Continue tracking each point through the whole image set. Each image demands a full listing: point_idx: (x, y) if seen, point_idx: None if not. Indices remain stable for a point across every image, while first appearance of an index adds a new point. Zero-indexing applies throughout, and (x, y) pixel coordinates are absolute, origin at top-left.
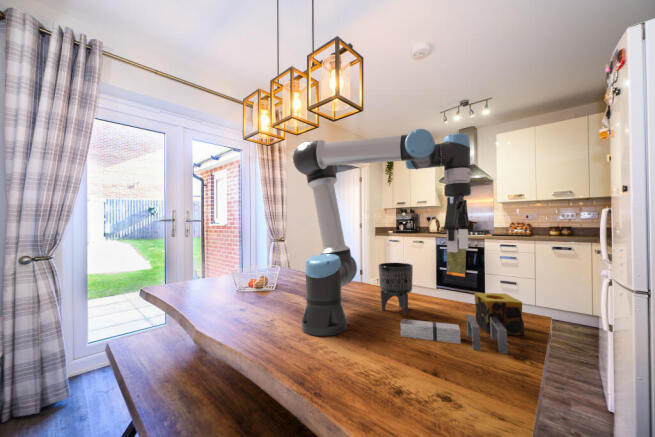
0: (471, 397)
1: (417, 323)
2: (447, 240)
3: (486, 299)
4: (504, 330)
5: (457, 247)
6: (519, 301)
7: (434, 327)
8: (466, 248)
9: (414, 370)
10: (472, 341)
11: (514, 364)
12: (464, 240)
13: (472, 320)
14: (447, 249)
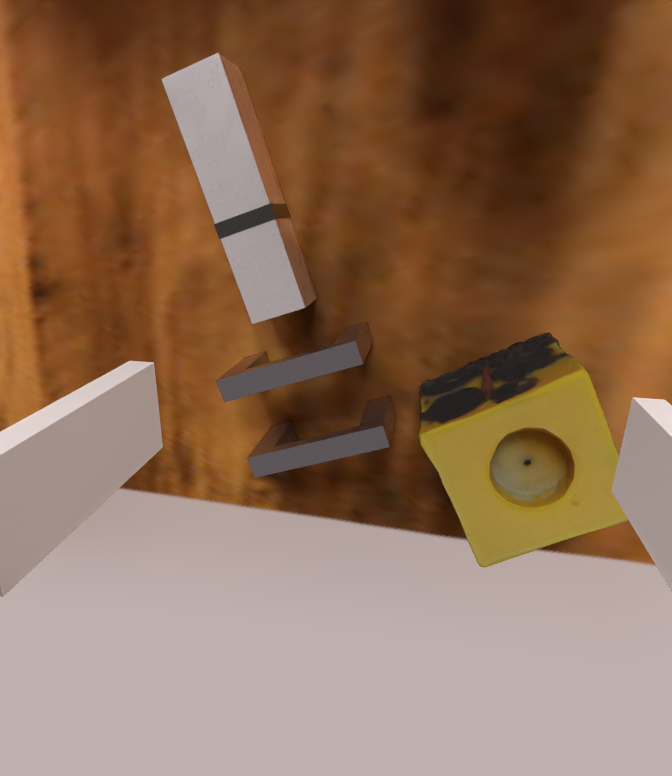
0: (15, 381)
1: (212, 149)
2: (54, 408)
3: (449, 436)
4: (253, 471)
5: (138, 468)
6: (484, 559)
7: (217, 230)
8: (617, 481)
9: (15, 238)
10: (252, 359)
11: (226, 456)
12: (661, 520)
13: (287, 372)
14: (116, 371)
